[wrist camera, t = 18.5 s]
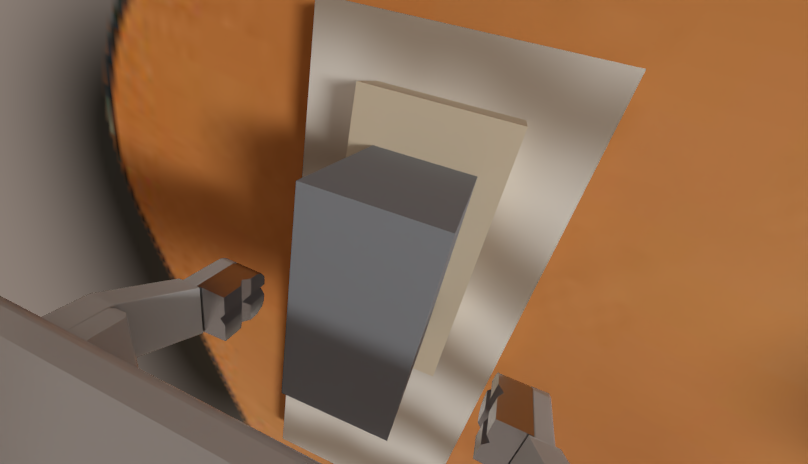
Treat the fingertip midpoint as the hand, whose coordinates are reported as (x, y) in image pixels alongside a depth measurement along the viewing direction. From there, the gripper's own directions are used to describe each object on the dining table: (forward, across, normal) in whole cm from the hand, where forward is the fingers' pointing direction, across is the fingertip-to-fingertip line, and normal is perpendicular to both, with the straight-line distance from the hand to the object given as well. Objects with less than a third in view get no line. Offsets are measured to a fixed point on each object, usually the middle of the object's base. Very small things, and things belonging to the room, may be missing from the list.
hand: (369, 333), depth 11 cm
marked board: (+8, +1, +6) cm, 10 cm away
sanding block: (+6, 0, -1) cm, 6 cm away
